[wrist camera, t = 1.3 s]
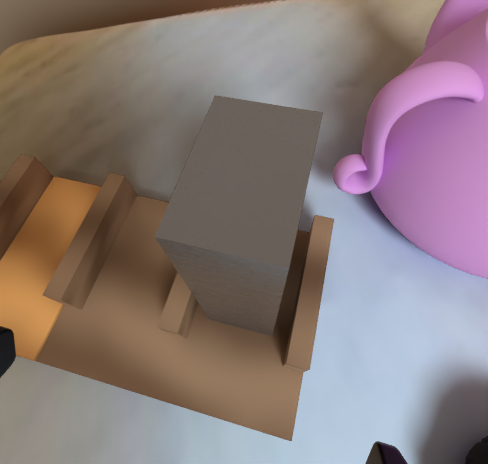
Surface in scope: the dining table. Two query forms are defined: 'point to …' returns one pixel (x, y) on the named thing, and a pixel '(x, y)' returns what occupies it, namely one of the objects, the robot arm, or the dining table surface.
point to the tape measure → (478, 453)
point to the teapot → (433, 143)
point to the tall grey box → (241, 209)
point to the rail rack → (144, 302)
